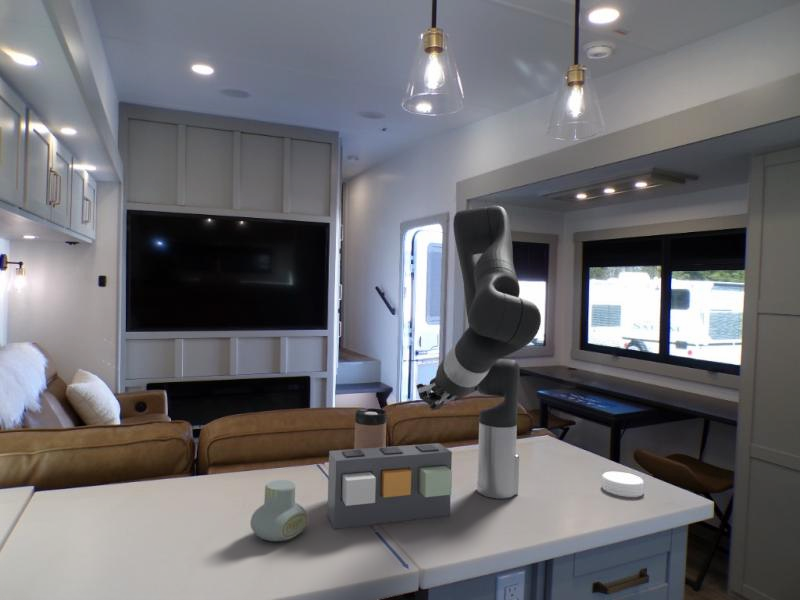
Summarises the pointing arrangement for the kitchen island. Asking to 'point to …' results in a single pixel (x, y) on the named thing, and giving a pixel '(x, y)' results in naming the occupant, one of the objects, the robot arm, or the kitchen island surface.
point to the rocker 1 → (358, 488)
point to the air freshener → (279, 513)
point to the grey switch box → (383, 506)
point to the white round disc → (622, 484)
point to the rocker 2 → (434, 480)
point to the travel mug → (370, 429)
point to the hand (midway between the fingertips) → (433, 405)
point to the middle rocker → (395, 482)
